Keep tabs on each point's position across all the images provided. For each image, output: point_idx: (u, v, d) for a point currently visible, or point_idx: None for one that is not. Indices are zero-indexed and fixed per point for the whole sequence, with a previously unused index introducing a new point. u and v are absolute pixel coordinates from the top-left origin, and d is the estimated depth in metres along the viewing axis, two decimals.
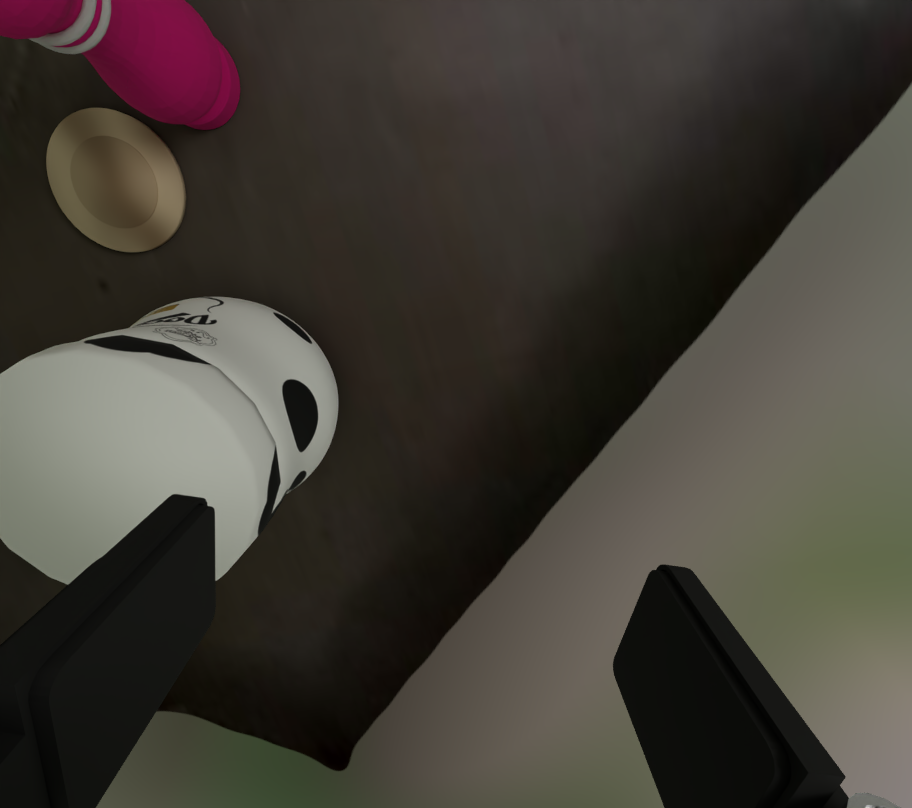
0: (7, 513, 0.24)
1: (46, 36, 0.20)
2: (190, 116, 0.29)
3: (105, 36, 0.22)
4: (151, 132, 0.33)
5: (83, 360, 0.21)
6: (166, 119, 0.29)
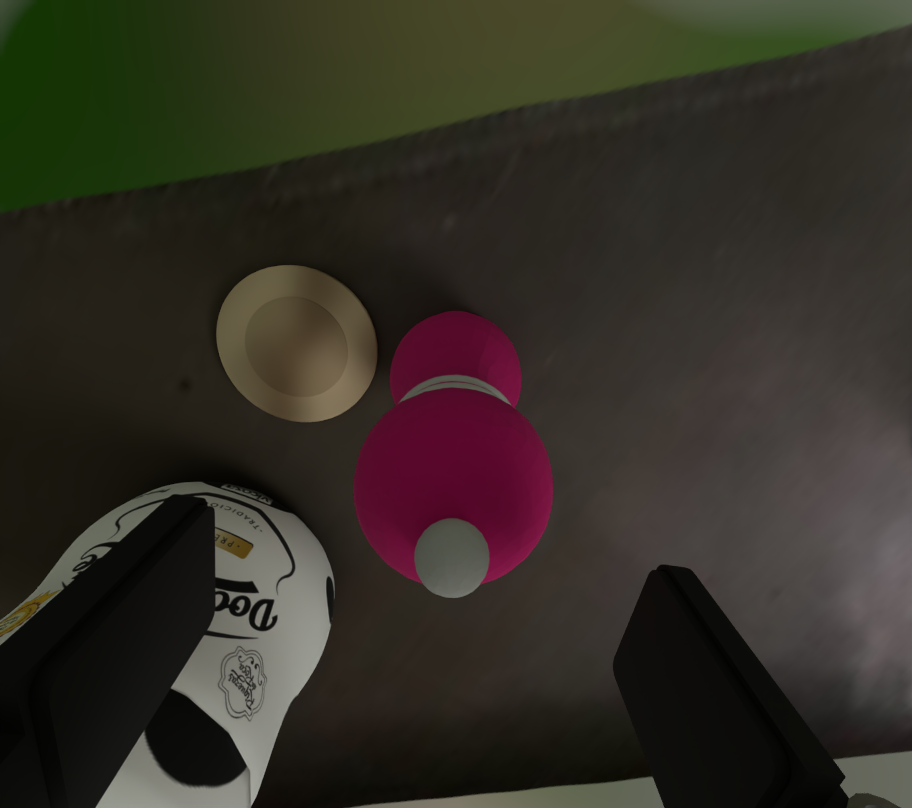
0: None
1: None
2: None
3: None
4: (376, 353, 0.28)
5: (130, 807, 0.15)
6: None
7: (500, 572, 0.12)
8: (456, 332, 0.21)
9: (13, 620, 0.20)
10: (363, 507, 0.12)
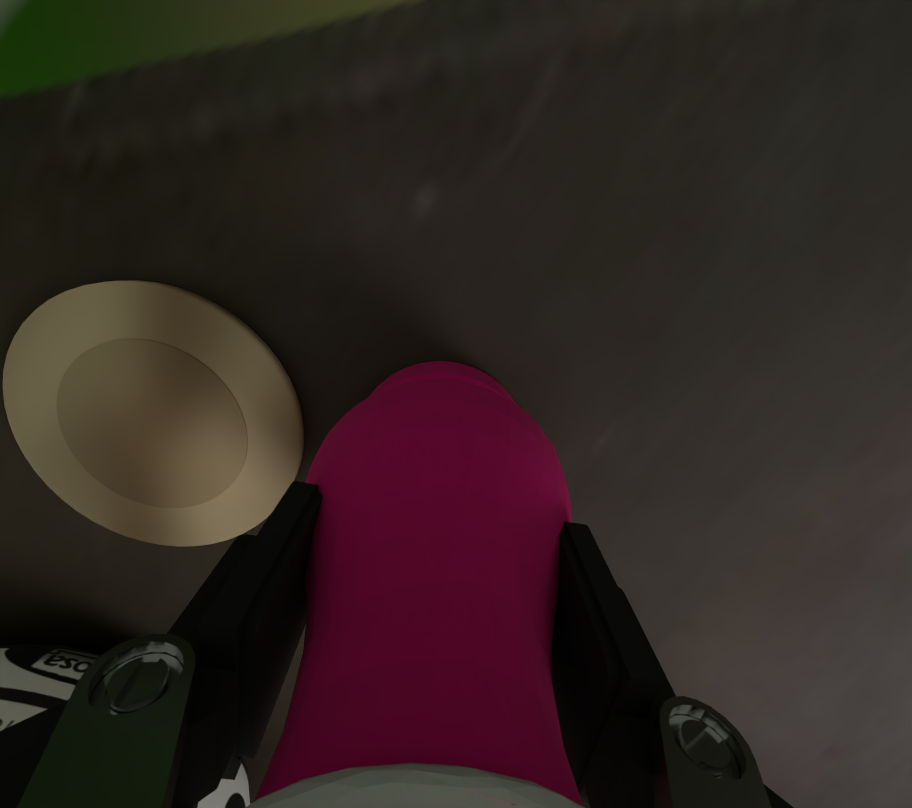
0: None
1: None
2: None
3: None
4: (298, 436, 0.15)
5: None
6: None
7: None
8: (434, 446, 0.09)
9: None
10: None
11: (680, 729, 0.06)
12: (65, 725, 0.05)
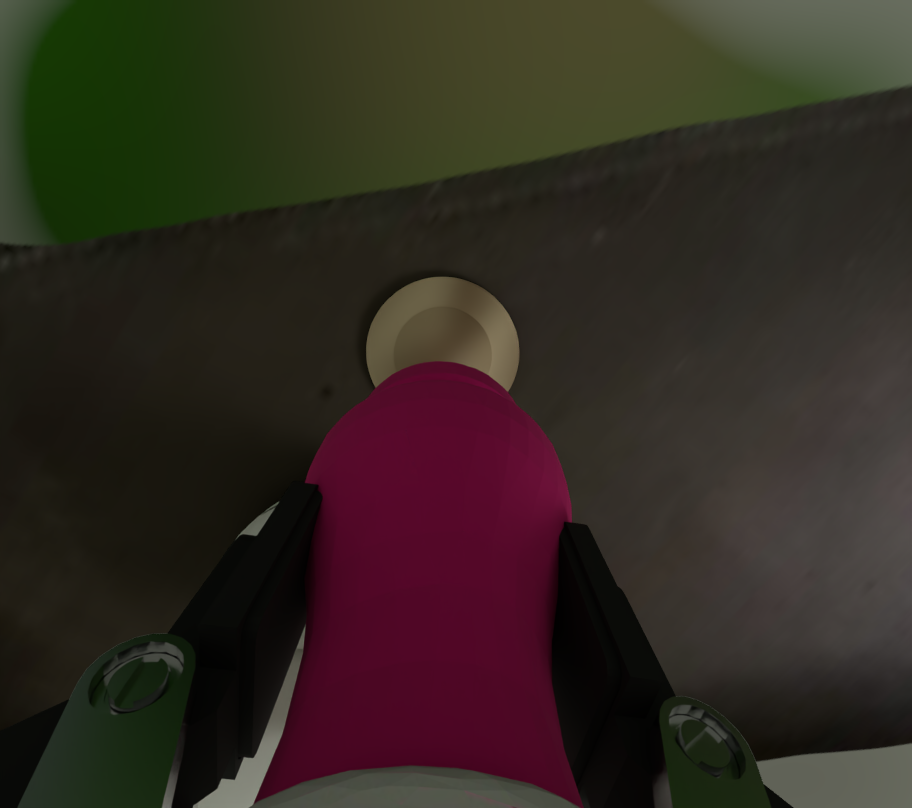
0: None
1: None
2: None
3: None
4: (518, 361, 0.29)
5: None
6: None
7: None
8: (434, 447, 0.09)
9: None
10: None
11: (680, 729, 0.06)
12: (66, 725, 0.05)
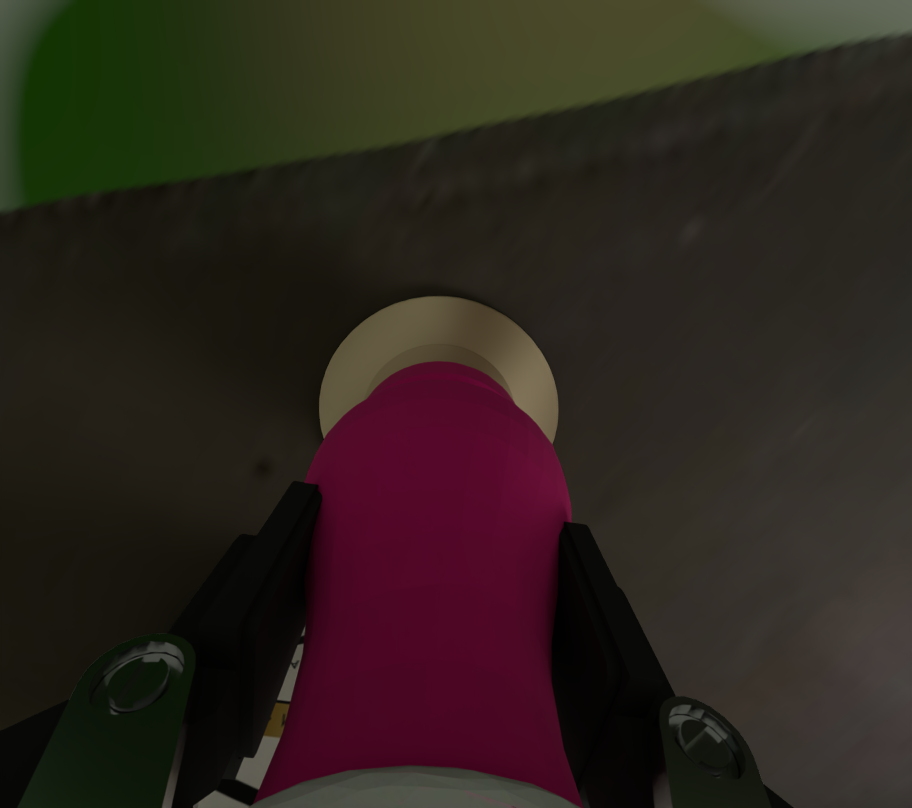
0: None
1: None
2: None
3: None
4: (556, 426, 0.18)
5: None
6: None
7: None
8: (434, 447, 0.09)
9: None
10: None
11: (680, 729, 0.06)
12: (66, 725, 0.05)
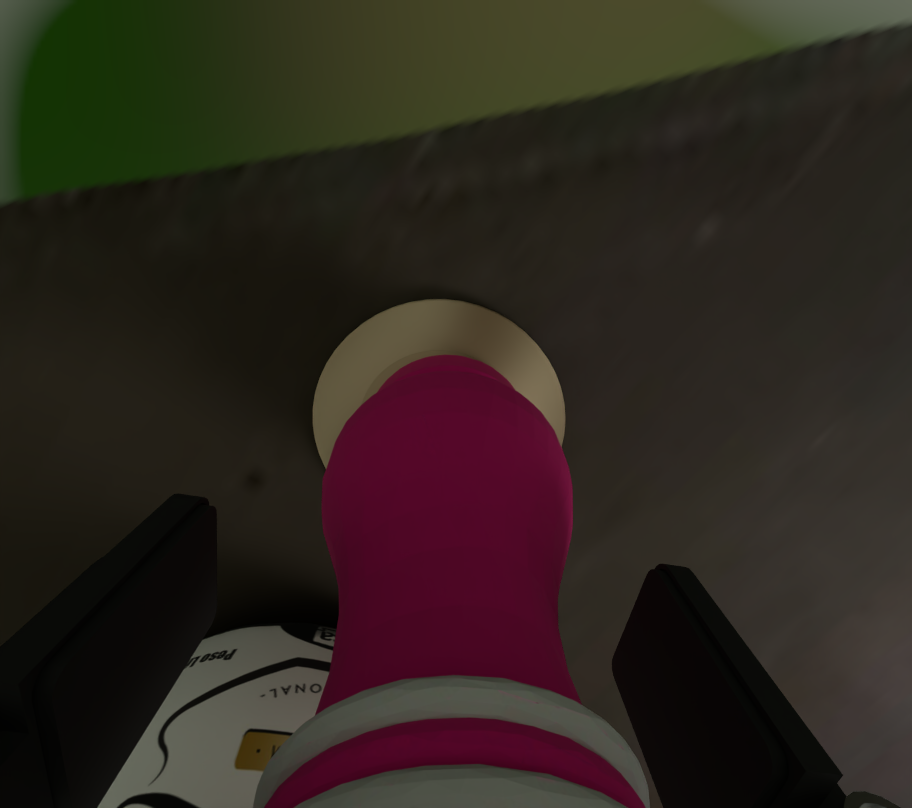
0: None
1: None
2: None
3: None
4: (563, 436, 0.18)
5: None
6: None
7: None
8: (450, 430, 0.10)
9: None
10: None
11: None
12: None
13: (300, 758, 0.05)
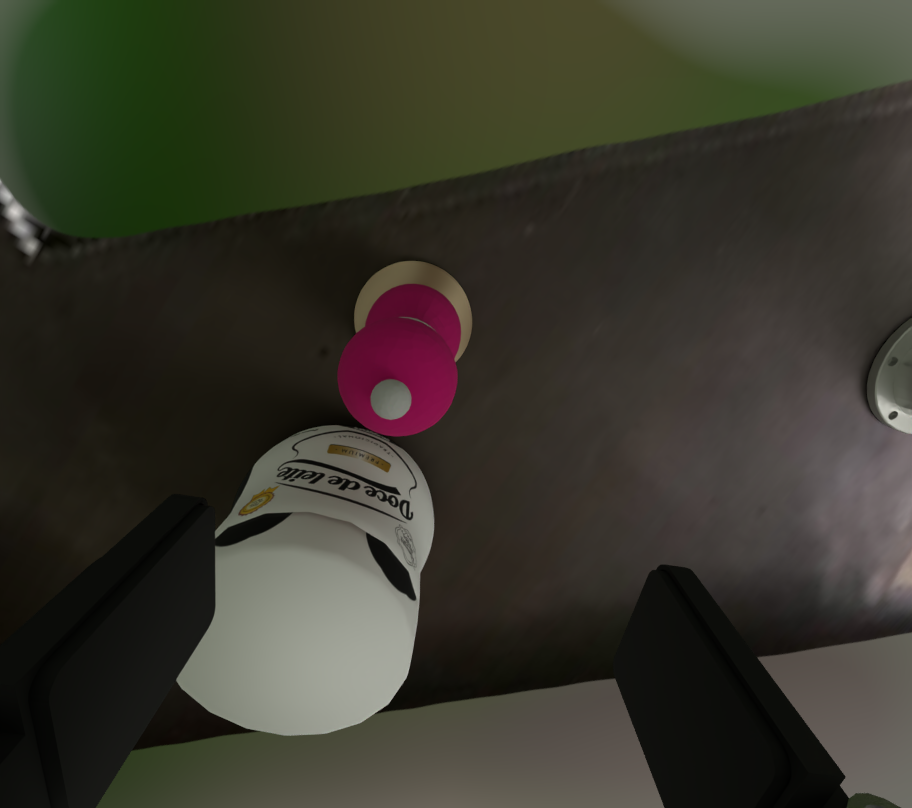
0: None
1: None
2: None
3: None
4: (471, 326, 0.37)
5: (377, 593, 0.25)
6: None
7: (423, 420, 0.21)
8: (410, 296, 0.30)
9: (260, 500, 0.29)
10: (343, 382, 0.20)
11: None
12: None
13: None
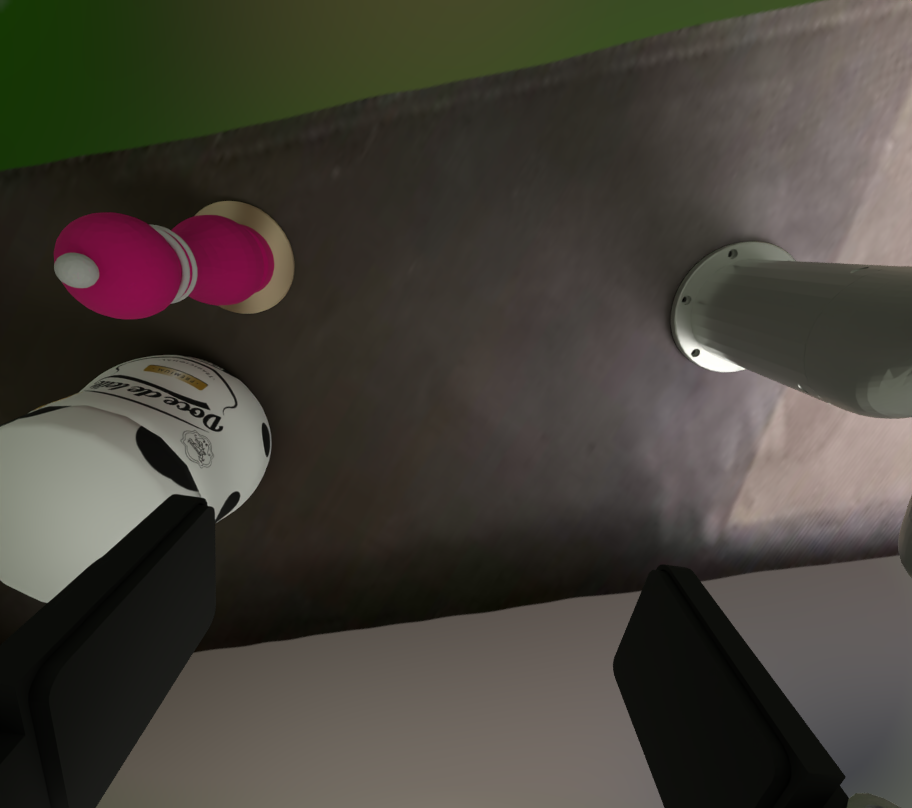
0: None
1: None
2: None
3: None
4: (292, 263, 0.41)
5: (129, 469, 0.29)
6: None
7: (127, 298, 0.24)
8: (195, 220, 0.33)
9: None
10: None
11: None
12: None
13: None
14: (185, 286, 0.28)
